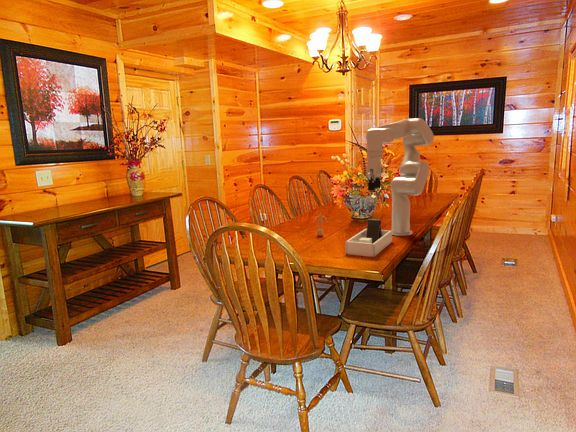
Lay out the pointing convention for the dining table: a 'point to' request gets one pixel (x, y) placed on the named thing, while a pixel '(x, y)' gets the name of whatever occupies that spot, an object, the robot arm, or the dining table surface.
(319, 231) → the figurine
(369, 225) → the phone stand
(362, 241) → the beige cube
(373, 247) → the tote
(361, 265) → the dining table surface
